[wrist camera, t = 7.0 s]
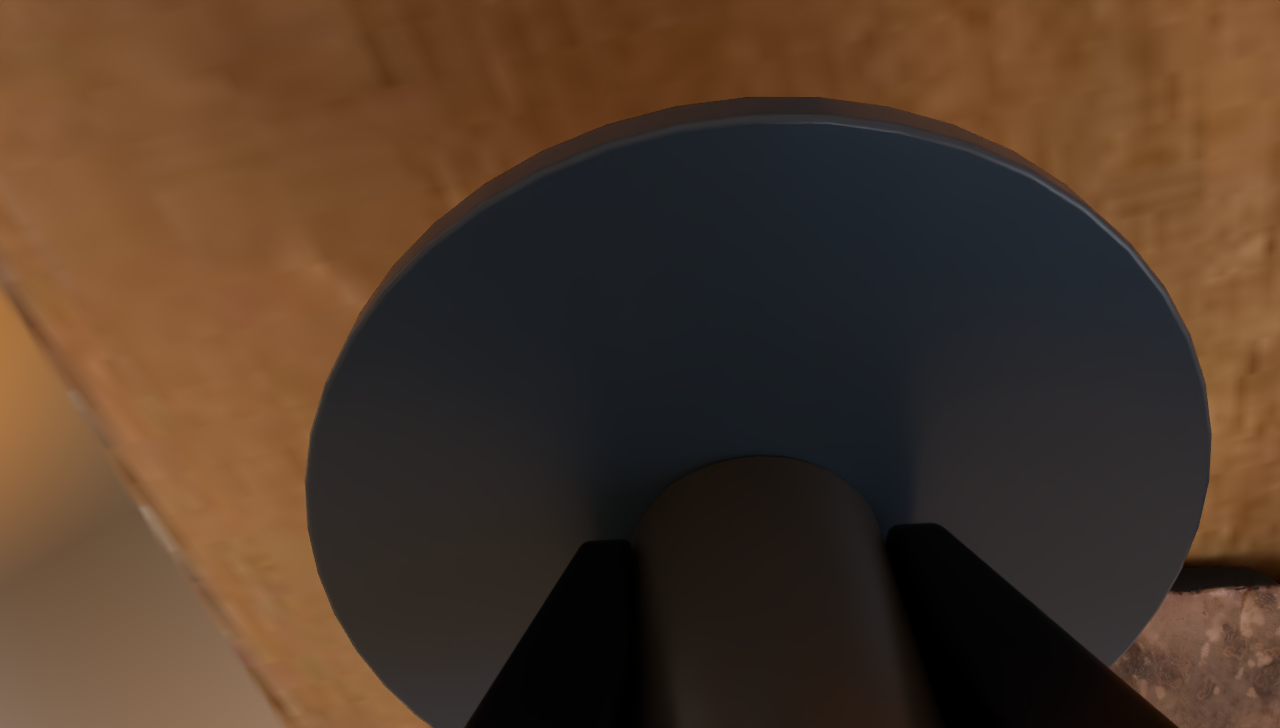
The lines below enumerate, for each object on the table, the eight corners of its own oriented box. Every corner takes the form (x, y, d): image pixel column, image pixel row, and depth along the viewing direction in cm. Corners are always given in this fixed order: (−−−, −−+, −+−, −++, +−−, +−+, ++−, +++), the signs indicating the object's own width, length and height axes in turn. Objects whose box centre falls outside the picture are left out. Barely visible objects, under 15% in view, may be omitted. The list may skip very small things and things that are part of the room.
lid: (1252, 39, 7) (2171, 429, 3) (1075, 718, 11) (1351, 1304, 7) (236, 104, 8) (-307, 559, 3) (418, 750, 12) (289, 1340, 7)
